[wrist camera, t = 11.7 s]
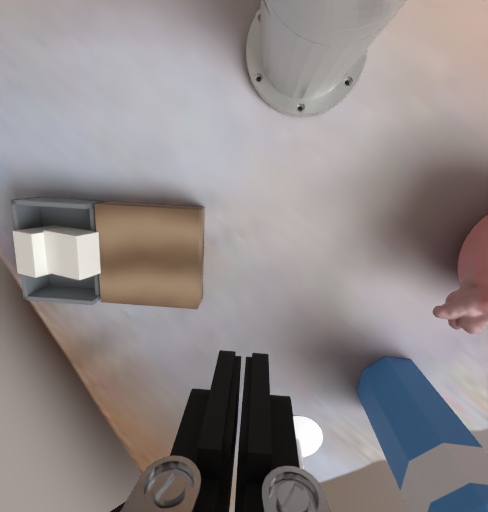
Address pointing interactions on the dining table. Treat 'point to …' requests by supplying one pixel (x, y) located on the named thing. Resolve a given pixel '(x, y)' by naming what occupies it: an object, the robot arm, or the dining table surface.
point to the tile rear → (31, 251)
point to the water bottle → (423, 440)
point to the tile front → (72, 252)
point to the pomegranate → (470, 284)
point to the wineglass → (306, 437)
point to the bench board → (150, 254)
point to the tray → (63, 215)
